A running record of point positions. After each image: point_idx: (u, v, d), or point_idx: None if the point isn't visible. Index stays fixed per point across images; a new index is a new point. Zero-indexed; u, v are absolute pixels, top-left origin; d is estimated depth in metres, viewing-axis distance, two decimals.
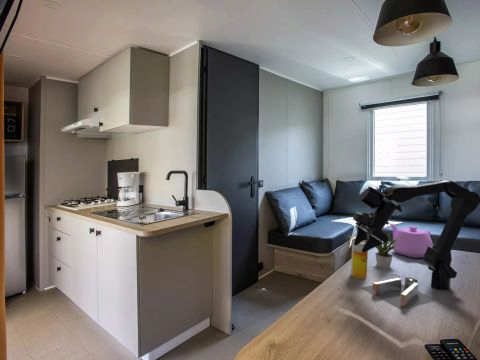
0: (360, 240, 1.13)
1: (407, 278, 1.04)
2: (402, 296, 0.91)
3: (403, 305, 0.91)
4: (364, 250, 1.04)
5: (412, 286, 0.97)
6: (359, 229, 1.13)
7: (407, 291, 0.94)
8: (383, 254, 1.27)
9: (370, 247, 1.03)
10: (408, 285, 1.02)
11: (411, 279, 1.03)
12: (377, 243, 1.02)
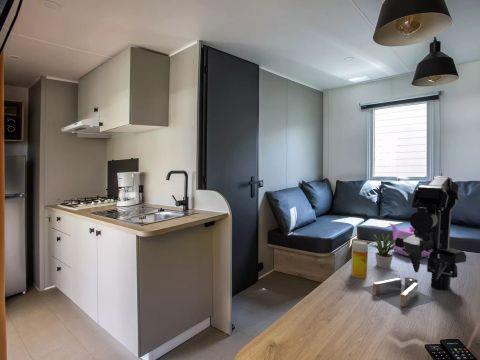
0: (418, 263, 0.90)
1: (407, 278, 1.04)
2: (402, 296, 0.91)
3: (403, 305, 0.91)
4: (437, 277, 0.84)
5: (412, 286, 0.97)
6: (412, 253, 0.90)
7: (407, 291, 0.94)
8: (383, 254, 1.27)
9: (442, 270, 0.84)
10: (408, 285, 1.02)
11: (411, 279, 1.03)
12: (447, 262, 0.83)
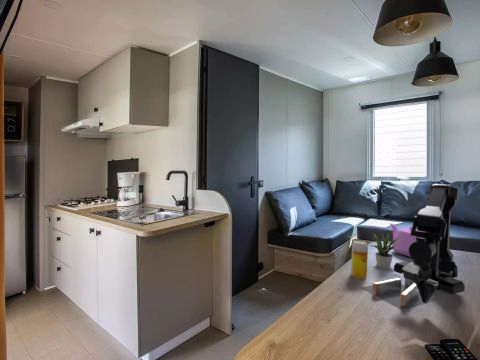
0: None
1: None
2: (402, 296, 0.91)
3: (403, 305, 0.91)
4: (427, 300, 0.87)
5: (412, 286, 0.97)
6: (419, 283, 0.87)
7: (407, 291, 0.94)
8: (383, 254, 1.27)
9: (431, 294, 0.87)
10: (408, 285, 1.02)
11: None
12: None
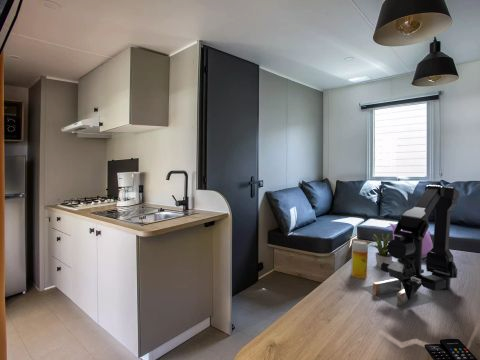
0: None
1: None
2: (398, 295, 0.92)
3: (399, 304, 0.92)
4: (411, 297, 0.92)
5: None
6: (405, 281, 0.92)
7: (404, 290, 0.94)
8: (383, 254, 1.27)
9: (415, 291, 0.91)
10: None
11: None
12: None
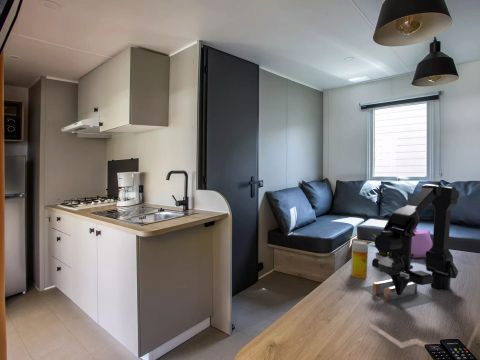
0: None
1: None
2: (385, 290, 0.95)
3: (386, 299, 0.95)
4: (400, 292, 0.95)
5: None
6: (394, 276, 0.95)
7: (394, 287, 0.96)
8: (383, 254, 1.27)
9: (404, 287, 0.94)
10: None
11: None
12: (408, 279, 0.94)
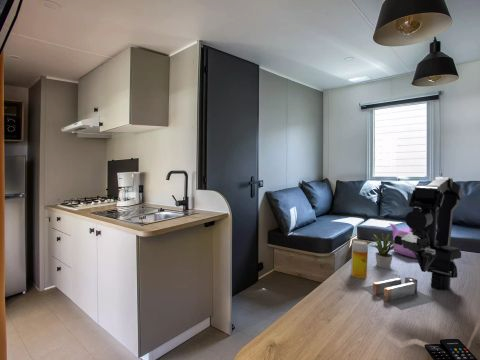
0: None
1: (408, 278, 1.05)
2: (385, 290, 0.95)
3: (385, 299, 0.95)
4: (425, 269, 0.91)
5: (405, 284, 0.99)
6: (418, 252, 0.91)
7: (394, 287, 0.96)
8: (383, 254, 1.27)
9: (429, 263, 0.91)
10: None
11: (411, 279, 1.03)
12: (434, 255, 0.90)
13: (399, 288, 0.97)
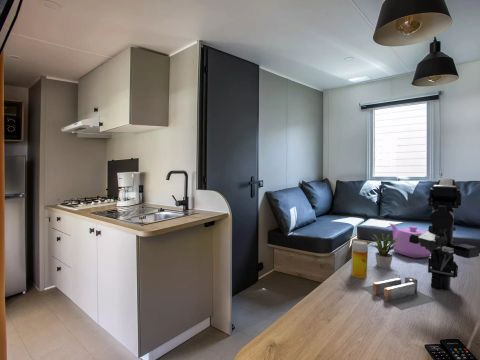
0: None
1: (408, 278, 1.05)
2: (385, 290, 0.95)
3: (385, 299, 0.95)
4: (442, 268, 0.91)
5: (405, 284, 0.99)
6: (435, 251, 0.92)
7: (394, 287, 0.96)
8: (383, 254, 1.27)
9: (446, 262, 0.91)
10: None
11: (411, 279, 1.03)
12: (450, 254, 0.91)
13: (399, 288, 0.97)
